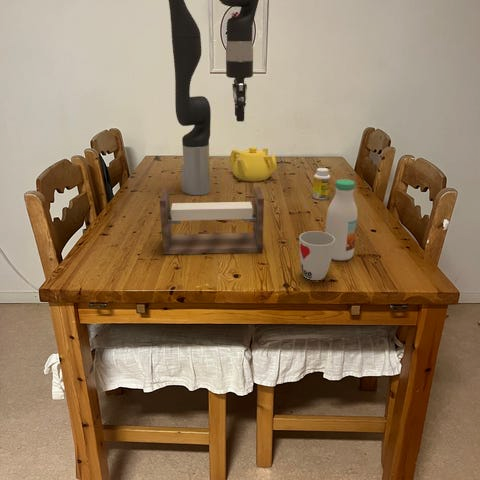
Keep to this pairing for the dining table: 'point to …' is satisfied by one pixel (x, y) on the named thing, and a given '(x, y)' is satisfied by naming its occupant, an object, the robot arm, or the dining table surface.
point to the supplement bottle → (321, 184)
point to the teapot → (252, 164)
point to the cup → (315, 253)
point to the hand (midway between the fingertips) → (239, 118)
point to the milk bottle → (342, 220)
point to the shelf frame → (214, 240)
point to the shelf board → (211, 211)
